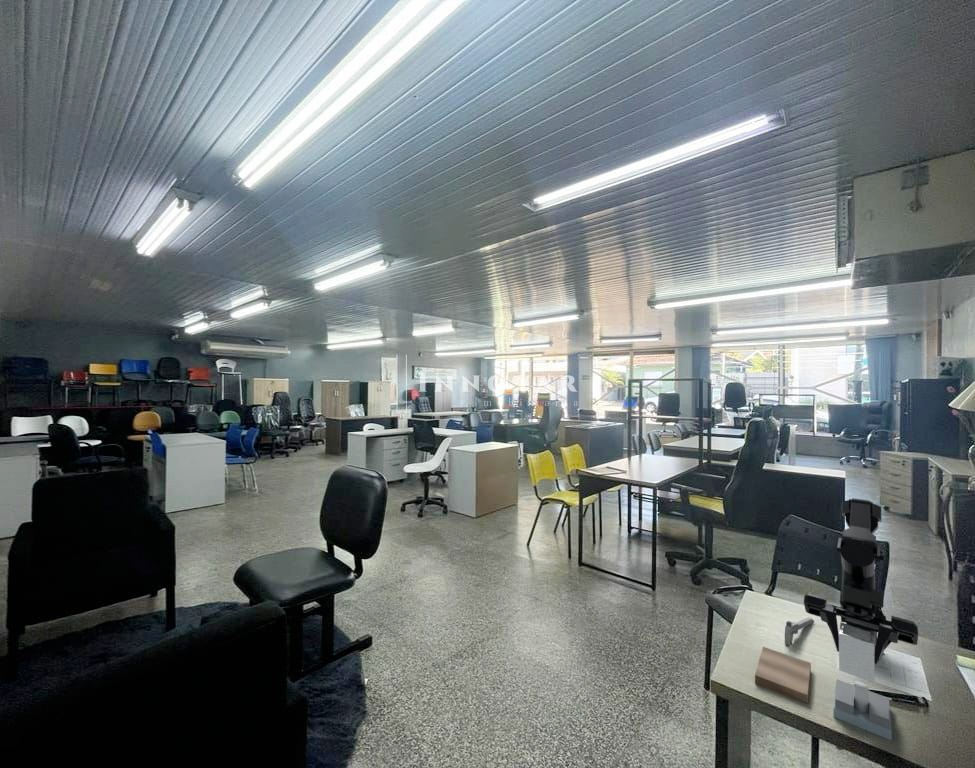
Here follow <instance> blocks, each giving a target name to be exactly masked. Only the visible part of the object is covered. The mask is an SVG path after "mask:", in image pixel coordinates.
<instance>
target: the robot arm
mask: <svg viewBox="0 0 975 768" xmlns="http://www.w3.org/2000/svg"><path fill="white" fill-rule="evenodd" d="M841 504H842V505H841V515H842V517H845V523H846V525H847V528H846V529H843V530H842V535H841V537H838V541H837V547H836V553H837V554H838V555H840V559H841V561H840V562H841V567H842V574H841V576H842V577H841V578H842V579H841V590H840V593H839V595H840V596H839V605H840V606H837V605H834V604H831V603H828V601H827V598H826V597H824V596H820V595H817V594H812V593H810V592H806V593H805V594H804V596H803V598H804V599H803V605H804V610H805V612H806V613H807V614H810V615H812V616H816V617H818V618H819V617H820V620H821V621H822V622H824V623H826V624H827V626H828V629H829V631H830V633H831V634H832V638H833V641H834V645H835V648H836V652H837V653H839V625H838V619H837V616H838V617H840V623H845V624H848V625H852V626H855V627H858V628H862V629H865V630H868V631H872V632H875V653H874V660H875V666H876V665H878V664H879V662H880V660H881V658H882V655H883V653H884V652H885V651H886V649H887V647H889V645H890V644H891V643H893V644H898V643H899V641H901V642H903V643H907V644H910V645H912V646H913V645H915V646H917V645H918V640H919V628H918V627H919V626H918V625H917V624H916V622H915V621H913V620H908V619H905V618H901V617H899V616H898V617H897V616H894V615H891V616H890V617H891V618H890V620H888V619H887V616H886V615H885V614H884V612H883V610H882V609H879V607H880V608H884V607H885V606H884V602H885V601H884V591H882V590H879V589H876V570H875V569H876V567H875V566H876V565H877V563H881V561H883V562H884V561H885V557H884V556H885V553H884V550H883V549H882V547H881V545H879V544H877V536H876V535H875V533H876V532H877V530H878V529H879V523H882V521H883V520H882V506H880V505H878V504H875V503H874V502H873V501H871V500H870V499H869V500H868V499H863V498H862V499H861V498H848V499H847V500H842V503H841Z"/></svg>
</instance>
